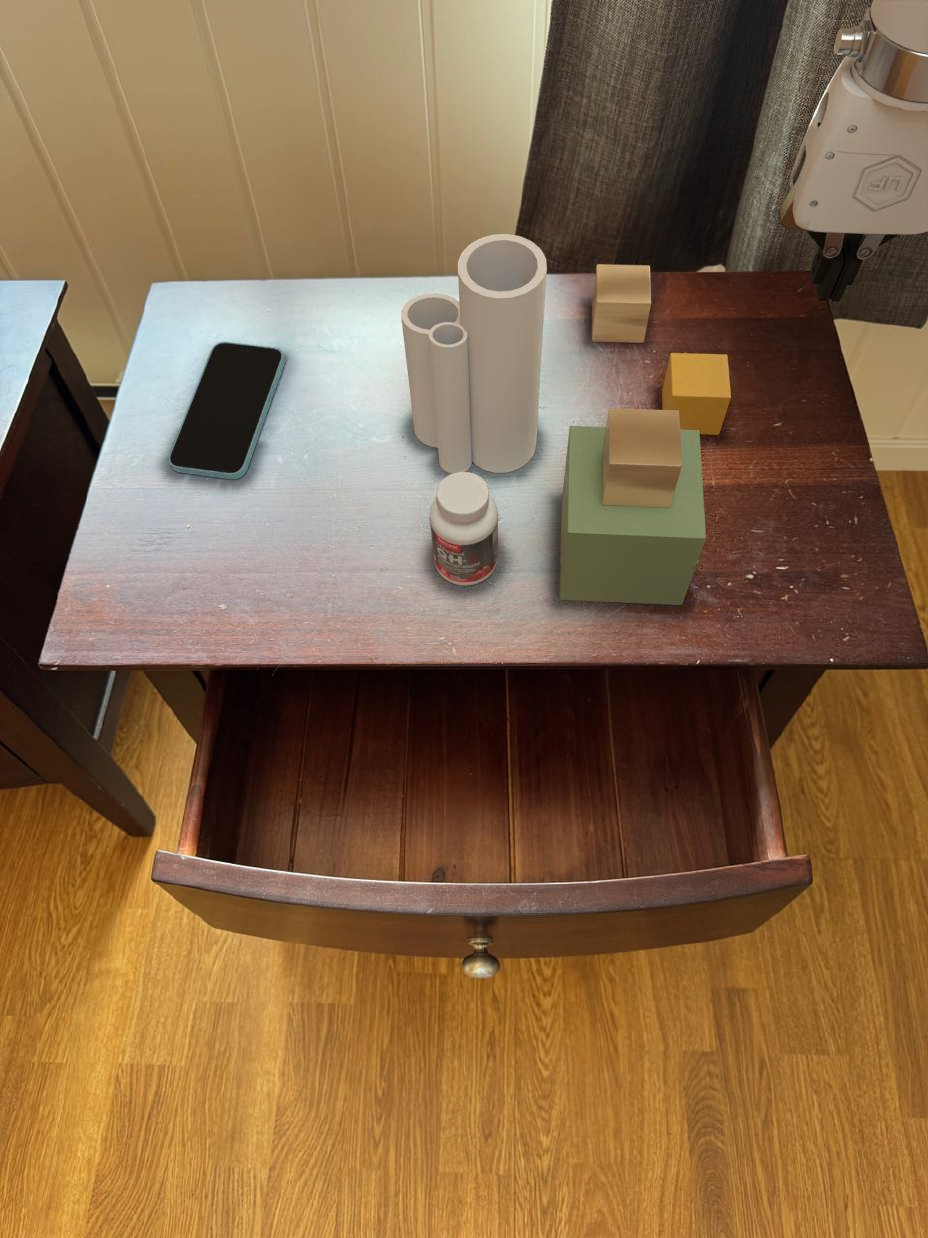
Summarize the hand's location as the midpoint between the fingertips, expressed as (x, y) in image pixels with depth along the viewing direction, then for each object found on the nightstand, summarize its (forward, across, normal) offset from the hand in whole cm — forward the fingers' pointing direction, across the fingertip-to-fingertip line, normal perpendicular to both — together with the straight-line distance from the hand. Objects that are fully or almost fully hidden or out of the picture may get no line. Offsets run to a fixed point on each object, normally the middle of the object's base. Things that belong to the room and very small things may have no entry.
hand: (826, 288), depth 73 cm
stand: (+15, -14, -16) cm, 26 cm away
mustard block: (+15, -8, 0) cm, 17 cm away
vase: (+15, -27, -5) cm, 32 cm away
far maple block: (+15, -14, +11) cm, 23 cm away
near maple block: (+5, -14, -16) cm, 22 cm away
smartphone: (+15, -50, -2) cm, 53 cm away
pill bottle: (+15, -27, -17) cm, 35 cm away
